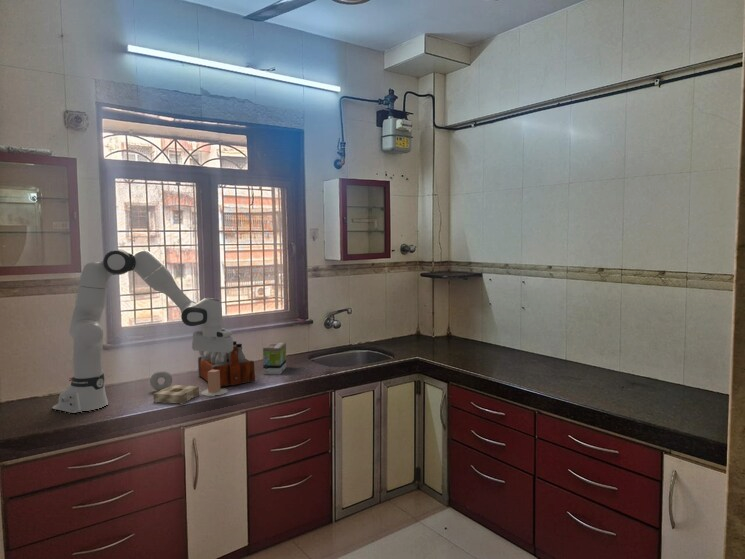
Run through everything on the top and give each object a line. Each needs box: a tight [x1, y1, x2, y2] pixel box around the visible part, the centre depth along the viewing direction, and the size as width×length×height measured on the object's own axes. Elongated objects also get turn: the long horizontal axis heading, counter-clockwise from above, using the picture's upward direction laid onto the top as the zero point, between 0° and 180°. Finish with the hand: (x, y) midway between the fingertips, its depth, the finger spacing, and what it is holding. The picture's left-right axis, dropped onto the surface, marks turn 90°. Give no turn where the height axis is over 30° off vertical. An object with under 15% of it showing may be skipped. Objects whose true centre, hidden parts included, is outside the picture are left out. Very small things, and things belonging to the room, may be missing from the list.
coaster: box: [200, 387, 228, 397], centre depth 240 cm, size 12×12×1 cm
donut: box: [149, 369, 173, 392], centre depth 243 cm, size 10×4×10 cm, turn 108°
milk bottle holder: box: [197, 340, 256, 388], centre depth 262 cm, size 21×35×19 cm, turn 33°
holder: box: [152, 384, 200, 405], centre depth 231 cm, size 14×14×4 cm
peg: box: [207, 370, 221, 393], centre depth 239 cm, size 4×4×10 cm
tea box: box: [262, 342, 287, 375], centre depth 278 cm, size 15×10×15 cm
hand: (212, 360), depth 238 cm, fingers open, 8 cm apart
